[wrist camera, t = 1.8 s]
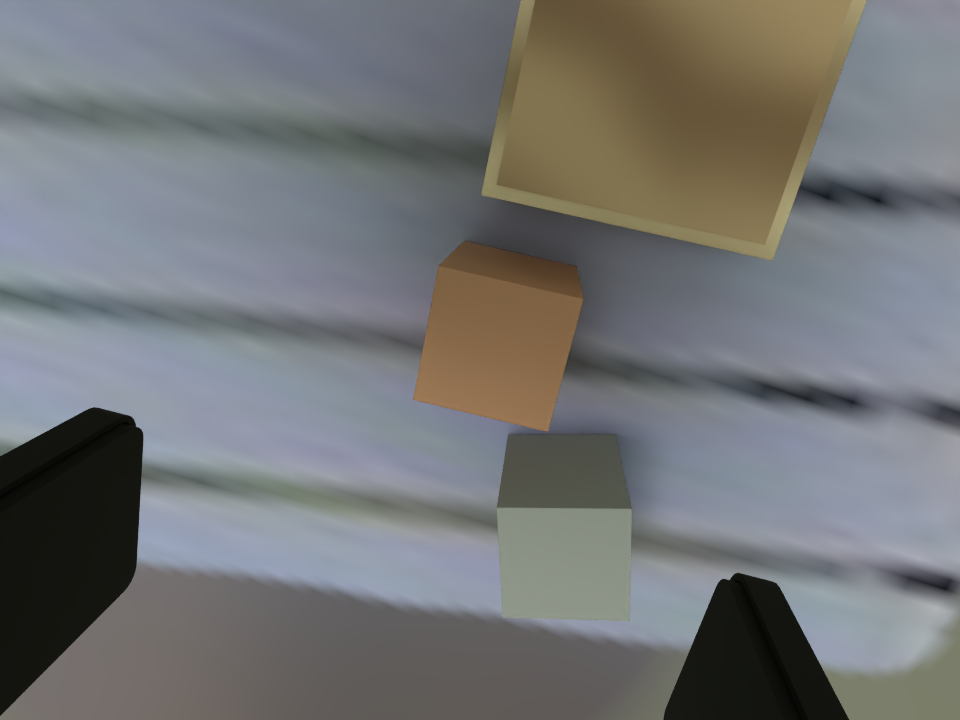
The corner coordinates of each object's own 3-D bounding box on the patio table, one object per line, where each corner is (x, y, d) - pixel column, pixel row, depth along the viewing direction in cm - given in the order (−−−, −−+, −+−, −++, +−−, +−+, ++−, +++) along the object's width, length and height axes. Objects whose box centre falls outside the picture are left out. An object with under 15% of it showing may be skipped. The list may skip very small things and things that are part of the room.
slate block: (508, 434, 27) (496, 507, 22) (614, 433, 27) (632, 509, 21) (512, 525, 29) (502, 617, 23) (613, 526, 28) (629, 621, 22)
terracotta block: (464, 240, 25) (438, 265, 19) (576, 266, 25) (583, 298, 19) (443, 347, 26) (413, 399, 21) (548, 372, 26) (547, 431, 21)
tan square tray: (552, -86, 21) (552, -156, 16) (819, -30, 21) (899, -86, 16) (494, 187, 24) (480, 195, 19) (728, 239, 24) (773, 261, 19)
